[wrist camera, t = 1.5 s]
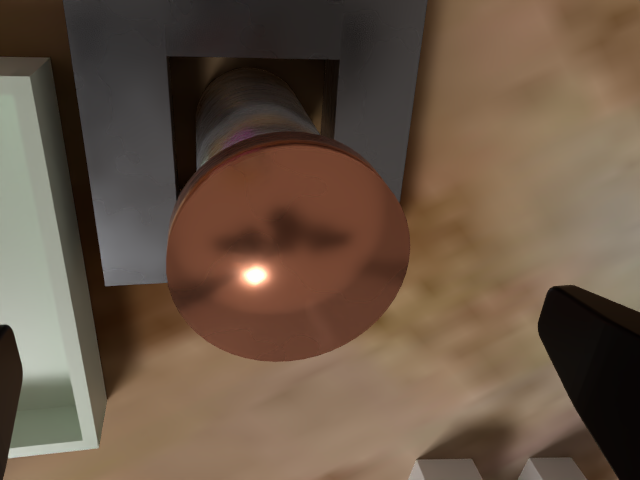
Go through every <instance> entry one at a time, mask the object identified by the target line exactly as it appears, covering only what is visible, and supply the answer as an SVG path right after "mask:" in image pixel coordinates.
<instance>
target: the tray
mask: <svg viewBox="0 0 640 480" xmlns="http://www.w3.org/2000/svg"><path fill="white" fill-rule="evenodd" d="M1 324H7V325H9V326H10V327H11V328H12V330H13V332H14V336H15V340H16V343H17V347H18V351H19V355H20V359H21V363H22V368H23V381H22V387H21V392H20V397H19V402H18V408H17V413H16V418H15V423H14V428H13V434H12V439H11V444H10V449H9V454H8V458H16V457H24V456H33V455H42V454H51V453H60V452H69V451H78V450H87V449H96V448H99V444H100V438H101V433H102V427H103V421H104V416H105V410H106V404H107V397H106V391H105V385H104V379H103V373H102V367H101V361H100V355H99V349H98V343H97V337H96V331H95V325H94V319H93V313H92V307H91V301H90V295H89V289H88V283H87V277H86V271H85V265H84V259H83V253H82V247H81V241H80V235H79V229H78V223H77V216H76V210H75V204H74V198H73V192H72V186H71V180H70V174H69V168H68V162H67V156H66V150H65V144H64V138H63V132H62V126H61V120H60V114H59V108H58V102H57V96H56V90H55V84H54V78H53V72H52V66H51V60H50V58H43V57H0V325H1Z"/></svg>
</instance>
